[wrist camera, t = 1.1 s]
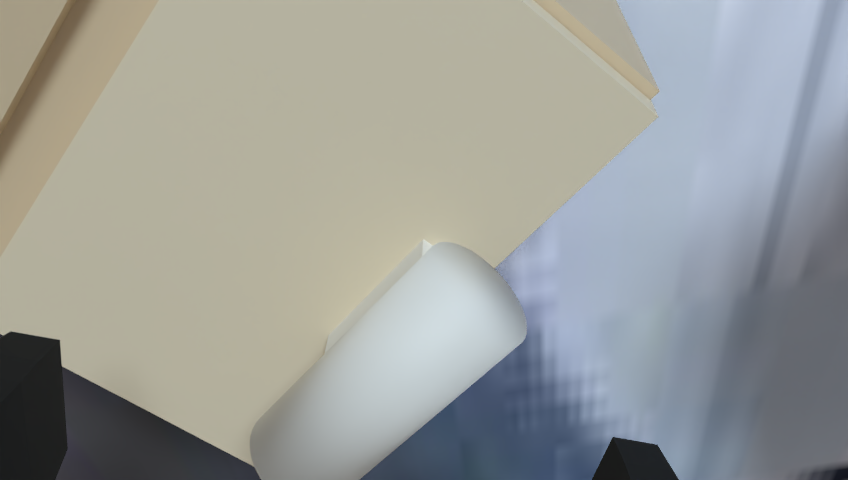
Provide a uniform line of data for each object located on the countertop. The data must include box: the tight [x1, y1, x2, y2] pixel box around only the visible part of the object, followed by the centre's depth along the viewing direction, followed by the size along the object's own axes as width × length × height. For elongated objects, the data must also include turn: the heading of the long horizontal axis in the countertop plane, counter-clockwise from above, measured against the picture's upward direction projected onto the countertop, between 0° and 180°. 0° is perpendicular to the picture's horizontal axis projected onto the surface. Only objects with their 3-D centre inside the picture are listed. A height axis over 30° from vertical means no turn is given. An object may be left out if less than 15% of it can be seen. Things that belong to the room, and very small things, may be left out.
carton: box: [0, 0, 659, 257], centre depth 16 cm, size 15×12×6 cm
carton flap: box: [0, 0, 658, 480], centre depth 13 cm, size 7×12×4 cm, turn 141°
